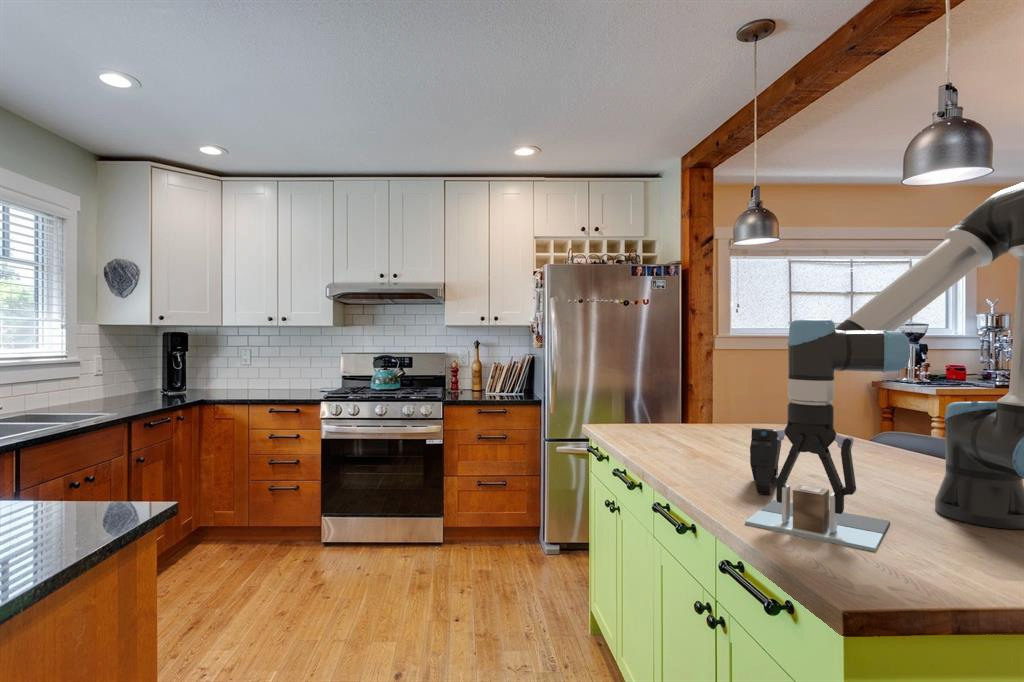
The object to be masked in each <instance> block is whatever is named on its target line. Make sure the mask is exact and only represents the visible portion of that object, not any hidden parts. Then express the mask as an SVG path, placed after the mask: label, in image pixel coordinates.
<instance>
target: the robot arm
mask: <svg viewBox="0 0 1024 682" xmlns="http://www.w3.org/2000/svg"><path fill="white" fill-rule="evenodd" d="M1008 253H1009V254H1010V255H1012V256H1013V257H1015V258H1016V259H1017V260H1018V265H1017V268H1018V269H1017V278H1016V279H1017V280H1016V293H1015V306H1014V320H1013V331H1012V333H1013V334H1012V346H1011V347H1012V348H1011V358H1010V359H1011V362H1010V372H1009V376H1010V377H1009V384H1008V385H1009V386H1008V387H1009V389H1008V392H1007V393H1006V394H1005V395H1004V396H1002V397H1000V398H999V399H997V400H996V401H954V402H950V403H948V405H947V406H946V408H945V415H944V419H943V420H944V423H945V425H944V427H945V428H944V429H945V431H944V433H945V435H944V437H945V441H944V443H945V444H944V445H945V475H944V477H943V480H942V482H941V484H940V486H939V489H938V491H937V494H936V496H935V499H934V510H935V511H936V513H938V514H940V515H942V516H944V517H947V518H949V519H953V520H956V521H960V522H964V523H968V524H973V525H977V526H981V527H982V526H983V527H989V528H999V529H1007V530H1008V529H1009V530H1024V482H1023V481H1024V182H1020V183H1018V184H1014V185H1012V186H1010V187H1006V188H1004V189H1002V190H1000V191H999V190H998V192H996V193H994V194H993V195H991V196H990V197H989V198H987V199H985V200H984V201H983V202H981V203H980V204H979V205H978V206H977V207H976V208H974V209H973V210H972V211H970V212H969V213H968V214H967V215H966V216H964V217H963V218H962V219H961V220H959V221H958V222H957V223H956V224H955V225H953V226H952V227H951V228H949V230H948V231H946V232H945V233H944V235H943V241H942V242H941V243H940V244H938V245H937V246H936V247H935V248H934V249H932V250H931V251H930V252H929V253H927V254H926V255H925V256H924V257H922V258H921V259H919V261H916V263H915V264H913V265H912V266H911V267H909V268H908V269H907V270H906V271H905V272H903V273H902V274H901V275H900V276H899V277H897V278H896V279H895V280H894V281H893V282H891V283H890V284H889V285H887V286H886V287H885V288H884V289H882V290H881V291H880V292H879V293H877V294H876V295H875V296H874V297H872V298H871V299H870V300H868V302H866V303H864V305H863V306H861V307H860V308H859V309H858V310H856V311H855V312H854V313H852V314H851V315H850V316H849V317H847V318H846V319H845V320H844V321H842V322H841V323H840V324H839V325H837V326H836V324H835V322H834V320H832V319H819V318H817V319H816V318H815V319H814V318H813V319H811V318H810V319H809V318H807V319H796V320H793V321H792V322H791V323H790V324H789V330H788V338H787V339H788V341H787V347H788V348H787V358H788V360H787V361H788V363H787V364H788V369H787V370H788V374H787V399H789V402H788V403H787V424H786V427H785V428H784V429H777V428H776V429H775V428H773V429H774V430H772V431H770V433H769V435H770V439H771V448H770V454H769V461H768V467H767V474H766V479H767V481H771V482H773V483H772V484H774V485H775V486H776V487H775V488H776V501H777V502H779V503H782V522H787V521H788V520H789V519H790V503H791V485H789V484H786V483H787V481H788V478H789V477H790V475H791V472H792V470H793V468H794V466H795V464H796V462H797V459H798V457H799V455H800V454H801V453H811V454H814V455H815V454H816V455H818V458H819V460H820V461H821V464H822V466H823V468H824V471H825V474H826V475H827V479H828V481H829V483H830V485H831V488H832V491H833V492H832V493H831V494H829V510H830V511H829V532H833V533H834V532H835V531H836V530H837V514H842V513H843V512H844V510H845V496H849V495H850V496H852V495H854V494H855V492H856V491H857V483H856V477H855V476H856V475H855V471H854V464H853V455H852V448H853V445H854V439H853V437H850V436H848V437H845V436H843V435H839V434H837V432H836V431H835V428H834V423H835V421H834V419H835V418H834V416H835V415H834V411H835V409H834V408H835V407H834V406H833V404H831V403H833V402H834V399H835V371H836V372H842V371H843V372H844V371H846V372H848V371H849V372H871V373H872V372H873V373H874V372H879V373H880V372H881V373H886V372H887V373H888V372H889V373H891V372H901V371H902V370H904V369H905V368H906V367H907V366H908V364H909V362H910V360H911V353H912V352H911V348H912V347H911V344H910V341H909V339H908V337H907V335H906V334H905V333H904V332H902V331H897V329H899V328H900V327H902V326H903V325H904V324H905V323H907V322H908V321H909V320H910V319H912V318H913V317H914V316H915V315H917V314H918V313H919V312H921V311H923V309H924V308H926V307H927V306H928V305H929V304H931V303H932V302H934V301H935V300H936V299H937V298H938V297H940V296H941V295H942V294H944V293H945V292H946V291H948V290H949V289H950V288H952V286H954V285H955V284H956V283H958V282H959V281H960V280H962V279H963V278H964V277H966V276H967V275H968V274H969V273H970V272H972V271H974V270H975V269H976V268H977V267H978V268H979V267H980V268H981V267H982V268H983V267H986V266H987V267H988V265H990V264H991V263H993V262H994V261H995V260H997V259H998V258H1000V257H1002V256H1003V255H1005V254H1008ZM785 436H786V437H787V439H788V440H789V442H790V443H791V444H792V445H791V447H790V449H789V452H788V455H787V457H786V460H785V461H784V464H783V466H782V468H781V470H780V473H778V476H777V468H778V469H779V460H780V455H781V454H780V453H781V449H782V441H783V440H784V439H785ZM833 442H836V443H837V447H838V448H839V449H840V457H841V465H842V473H843V478H844V479H843V480H844V485H843V483H842V481H841V477H840V476H839V473H838V471H837V467H836V465H835V464H834V460H833V458H832V456H831V455H832V454H831V451H830V449H829V447H830V446H831V445H832V443H833Z"/></svg>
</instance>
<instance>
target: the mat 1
mask: <svg viewBox="0 0 1024 682" xmlns="http://www.w3.org/2000/svg"><path fill="white" fill-rule="evenodd" d="M760 510H761V511H766V512H772V513H777V514H782V503H779V502H777V500H775V499H773V500H771V501H770V502H769V503H767V504H766V505H765V506H763V507H762V508H760ZM829 511H830V509H829ZM790 516H792V517H793V502H790ZM890 524H891V520H889V519H883V518H877V517H872V516H865V515H860V514H855V513H854V514H853V513H848V512H844V511H843V513H842V514H837V525H839V526H845V527H850V528H855V529H860V530H866V531H871V532H876V533H881V534H883V537H884V536H885V534H886V533H887V531H888V528H889V526H890Z"/></svg>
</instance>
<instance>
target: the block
mask: <svg viewBox="0 0 1024 682" xmlns="http://www.w3.org/2000/svg"><path fill="white" fill-rule="evenodd" d="M792 503H793V528H797V529H802V530H807V531H812V532H817V533H822V534H823V533H824V532H825V531H826V530H827V529H828V528H829V510H830V489H829V488H825V487H817V486H812V485H811V486H810V485H806V484H805V485H804V484H798V485H797V486H796V487H794V488H793V489H792Z"/></svg>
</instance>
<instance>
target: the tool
mask: <svg viewBox="0 0 1024 682" xmlns="http://www.w3.org/2000/svg"><path fill="white" fill-rule="evenodd" d="M774 429H775V428H773V429H771V428H756V427H752V428H751V438H750V439H751V441H750V446H749V453H750V457H749V458H750V459H749V463H750V464H749V465H750V468H751V473H752V477H753V481H754V482H755V488H756V489H755V490H756V494H765V495H771V484H774V483H773V482H771V481H767V479H766V474H767V467H768V461H769V454H770V448H771V439H770V435H769V433H770V431H772V430H774ZM777 476H779V467H778V468H777Z"/></svg>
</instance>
